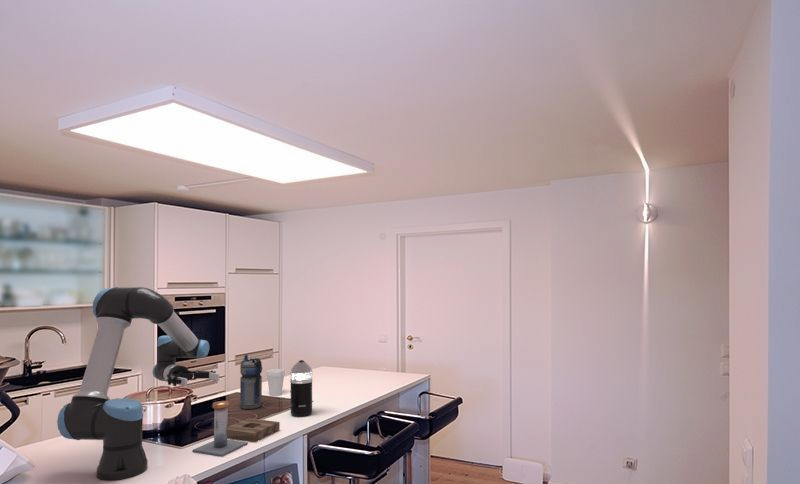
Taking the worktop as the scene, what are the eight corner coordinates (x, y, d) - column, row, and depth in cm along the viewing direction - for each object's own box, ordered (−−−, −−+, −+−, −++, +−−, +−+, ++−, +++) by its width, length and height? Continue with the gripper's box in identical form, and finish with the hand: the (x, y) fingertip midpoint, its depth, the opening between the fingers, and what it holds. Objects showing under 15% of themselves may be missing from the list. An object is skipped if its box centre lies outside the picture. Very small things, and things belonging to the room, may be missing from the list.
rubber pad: (222, 456, 186) (222, 454, 186) (192, 451, 191) (192, 449, 191) (247, 444, 198) (247, 442, 199) (219, 440, 204) (219, 438, 204)
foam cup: (266, 393, 282) (266, 369, 283) (283, 392, 285) (283, 368, 285) (267, 397, 273) (267, 372, 274) (285, 396, 276) (285, 371, 276)
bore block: (254, 442, 201) (254, 433, 201) (222, 437, 207) (222, 428, 207) (279, 430, 216) (279, 421, 216) (248, 426, 222) (248, 418, 222)
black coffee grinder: (290, 418, 233) (290, 362, 235) (289, 412, 243) (289, 359, 245) (313, 416, 236) (313, 361, 238) (311, 410, 246) (311, 357, 247)
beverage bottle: (250, 412, 245) (250, 359, 246) (235, 407, 253) (235, 356, 255) (268, 407, 252) (268, 356, 254) (253, 403, 261) (253, 353, 263)
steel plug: (221, 449, 191) (222, 405, 192) (208, 447, 193) (209, 403, 194) (232, 444, 196) (232, 401, 198) (219, 442, 199) (220, 400, 200)
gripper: (204, 379, 227) (230, 384, 213) (146, 388, 208) (171, 394, 194) (204, 361, 228) (230, 366, 214) (147, 369, 209) (172, 374, 195)
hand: (202, 379), depth 204 cm, fingers open, 13 cm apart
